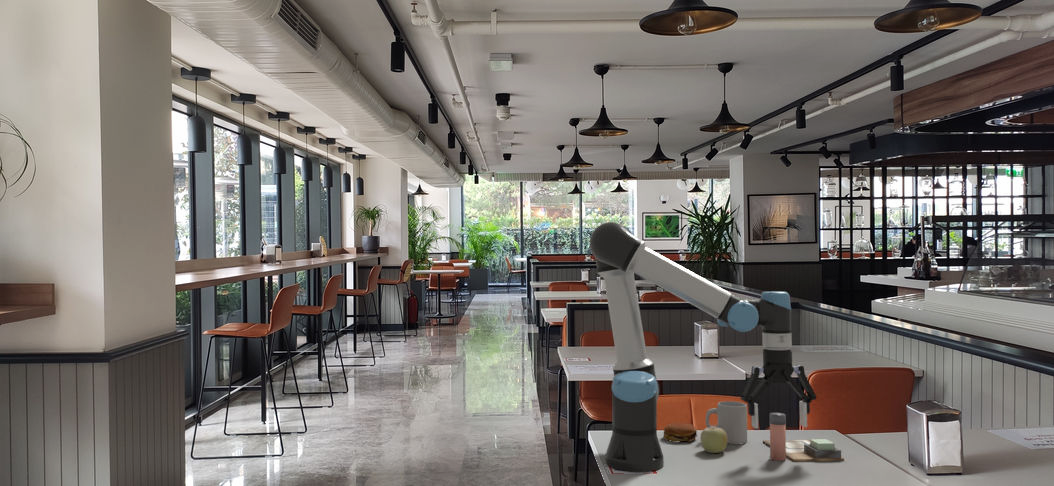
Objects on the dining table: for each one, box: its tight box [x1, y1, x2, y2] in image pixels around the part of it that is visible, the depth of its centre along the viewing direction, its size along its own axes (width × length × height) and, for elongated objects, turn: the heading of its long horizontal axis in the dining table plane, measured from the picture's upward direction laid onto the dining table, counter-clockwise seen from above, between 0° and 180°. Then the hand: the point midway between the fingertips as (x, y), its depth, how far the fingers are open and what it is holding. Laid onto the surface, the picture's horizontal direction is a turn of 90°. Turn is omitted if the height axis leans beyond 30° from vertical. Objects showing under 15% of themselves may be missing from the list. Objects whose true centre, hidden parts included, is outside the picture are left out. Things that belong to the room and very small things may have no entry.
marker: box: [769, 412, 787, 462], centre depth 191 cm, size 4×4×12 cm
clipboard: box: [762, 439, 845, 463], centre depth 199 cm, size 14×20×3 cm
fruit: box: [700, 423, 728, 454], centre depth 198 cm, size 8×7×8 cm
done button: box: [809, 438, 836, 450], centre depth 193 cm, size 5×5×2 cm
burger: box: [663, 422, 698, 442], centre depth 212 cm, size 10×9×5 cm
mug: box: [705, 400, 748, 445], centre depth 211 cm, size 12×8×11 cm
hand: (779, 426), depth 191 cm, fingers open, 13 cm apart
